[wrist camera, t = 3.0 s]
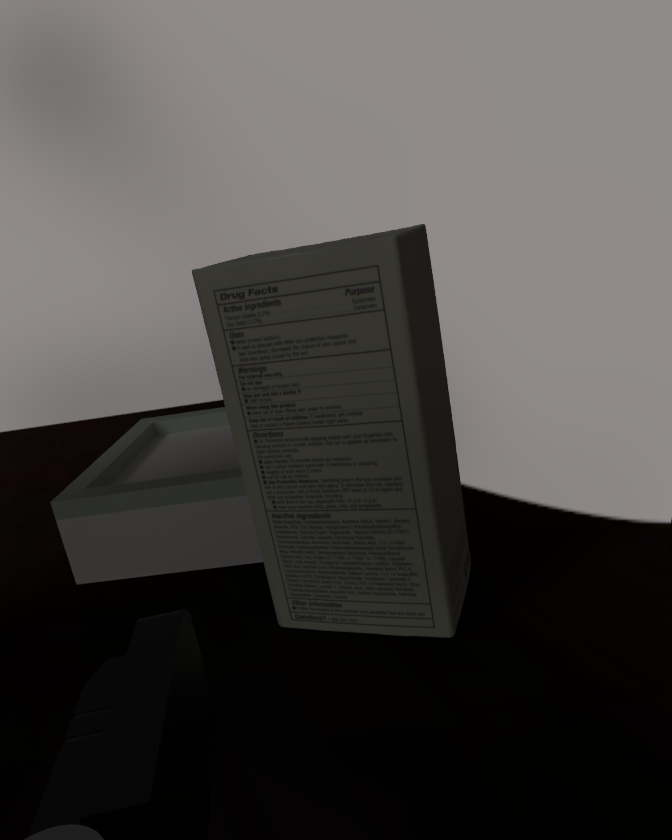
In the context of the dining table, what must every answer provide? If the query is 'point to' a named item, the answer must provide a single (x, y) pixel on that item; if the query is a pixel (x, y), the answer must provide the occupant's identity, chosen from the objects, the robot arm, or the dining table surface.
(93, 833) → the robot arm
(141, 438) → the shallow open tray
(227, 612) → the dining table surface
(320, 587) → the skincare box
